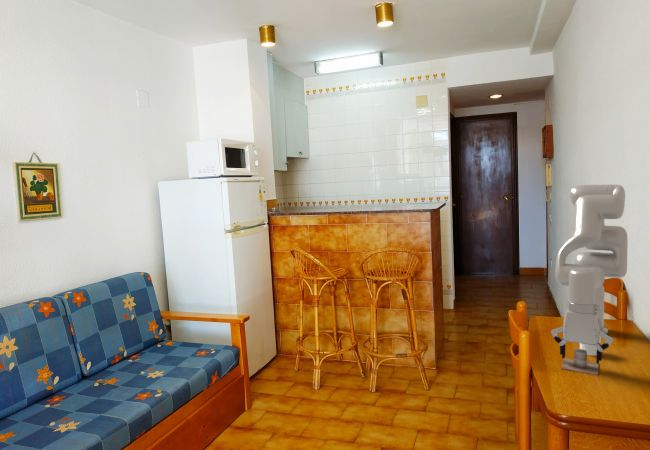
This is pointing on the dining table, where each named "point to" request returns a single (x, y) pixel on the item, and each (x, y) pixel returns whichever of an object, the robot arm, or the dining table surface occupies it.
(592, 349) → the white cup
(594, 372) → the lid
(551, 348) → the dining table surface
